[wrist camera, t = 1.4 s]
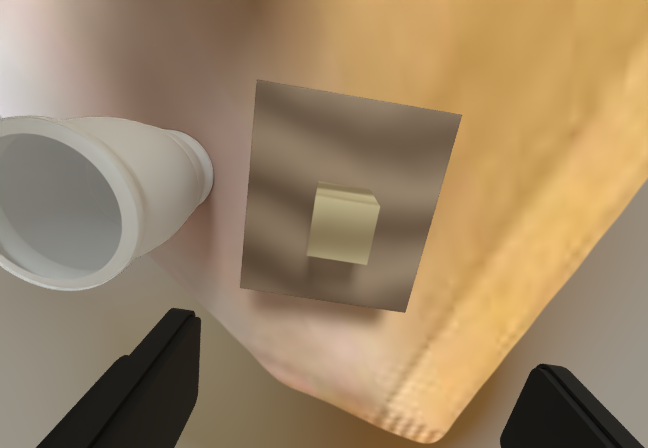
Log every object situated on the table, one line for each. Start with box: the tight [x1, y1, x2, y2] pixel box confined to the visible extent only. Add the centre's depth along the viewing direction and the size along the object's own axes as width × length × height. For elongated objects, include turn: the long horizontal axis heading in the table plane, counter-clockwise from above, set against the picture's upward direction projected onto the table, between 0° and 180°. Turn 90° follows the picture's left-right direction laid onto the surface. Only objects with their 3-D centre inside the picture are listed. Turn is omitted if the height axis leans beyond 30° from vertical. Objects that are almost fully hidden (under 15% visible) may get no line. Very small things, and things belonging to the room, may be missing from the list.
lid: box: [240, 80, 462, 313], centre depth 23 cm, size 17×15×7 cm
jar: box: [0, 116, 214, 291], centre depth 24 cm, size 11×10×15 cm
